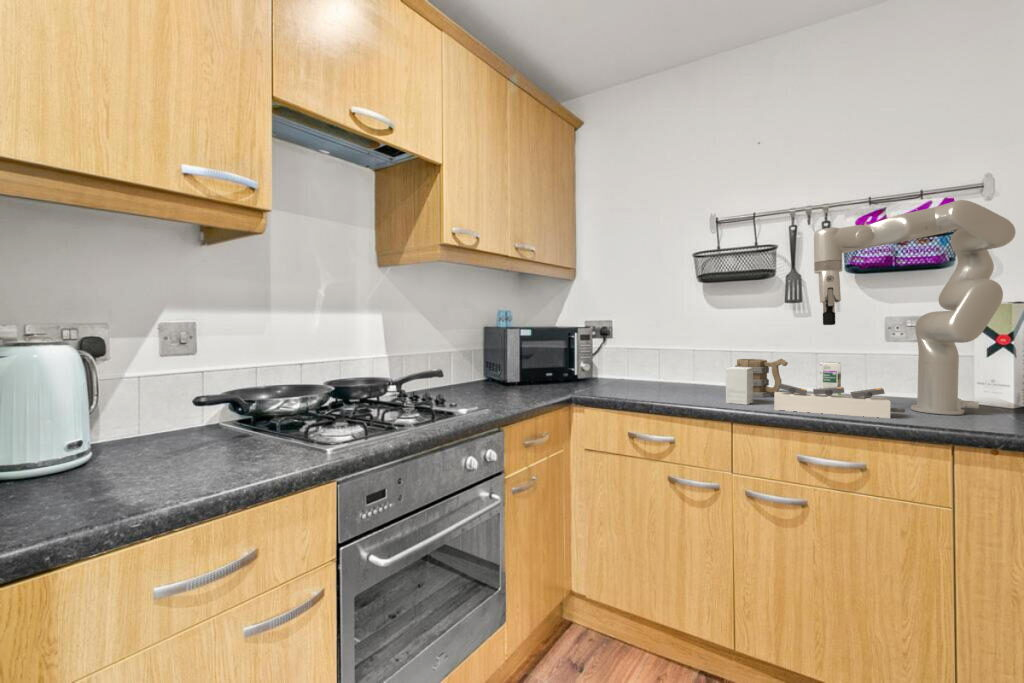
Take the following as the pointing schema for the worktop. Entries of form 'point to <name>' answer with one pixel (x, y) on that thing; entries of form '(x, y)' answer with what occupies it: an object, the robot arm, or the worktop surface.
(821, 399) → the power strip
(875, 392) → the rocker
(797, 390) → the rocker
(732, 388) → the supplement box
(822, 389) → the rocker
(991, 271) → the robot arm
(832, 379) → the syrup box
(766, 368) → the tankard
